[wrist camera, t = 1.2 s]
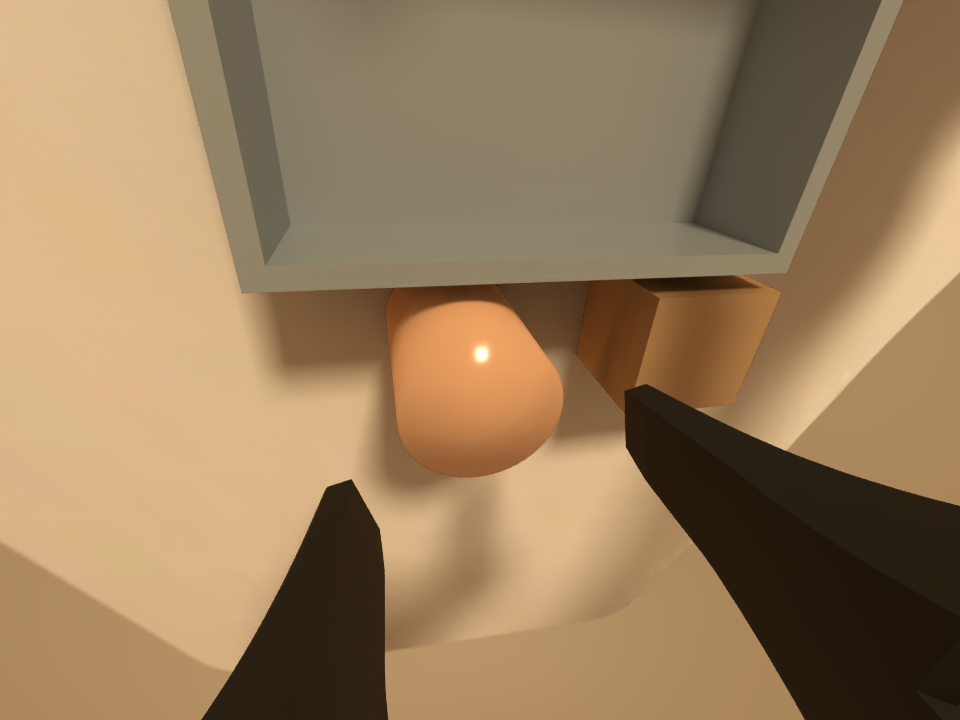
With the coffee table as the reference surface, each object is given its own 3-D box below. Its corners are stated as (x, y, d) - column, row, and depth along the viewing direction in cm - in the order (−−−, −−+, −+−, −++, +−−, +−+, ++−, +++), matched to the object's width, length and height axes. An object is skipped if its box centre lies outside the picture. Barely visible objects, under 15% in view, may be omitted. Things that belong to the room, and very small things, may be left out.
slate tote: (836, -236, 12) (1079, -409, 8) (694, 235, 19) (786, 273, 15) (143, -433, 9) (-71, -942, 4) (275, 240, 15) (241, 293, 11)
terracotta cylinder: (505, 256, 18) (576, 334, 12) (497, 360, 20) (551, 466, 14) (382, 259, 17) (392, 347, 11) (390, 369, 19) (401, 487, 13)
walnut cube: (693, 252, 20) (781, 292, 16) (664, 347, 22) (733, 404, 18) (594, 254, 19) (659, 298, 14) (575, 353, 21) (626, 415, 17)
